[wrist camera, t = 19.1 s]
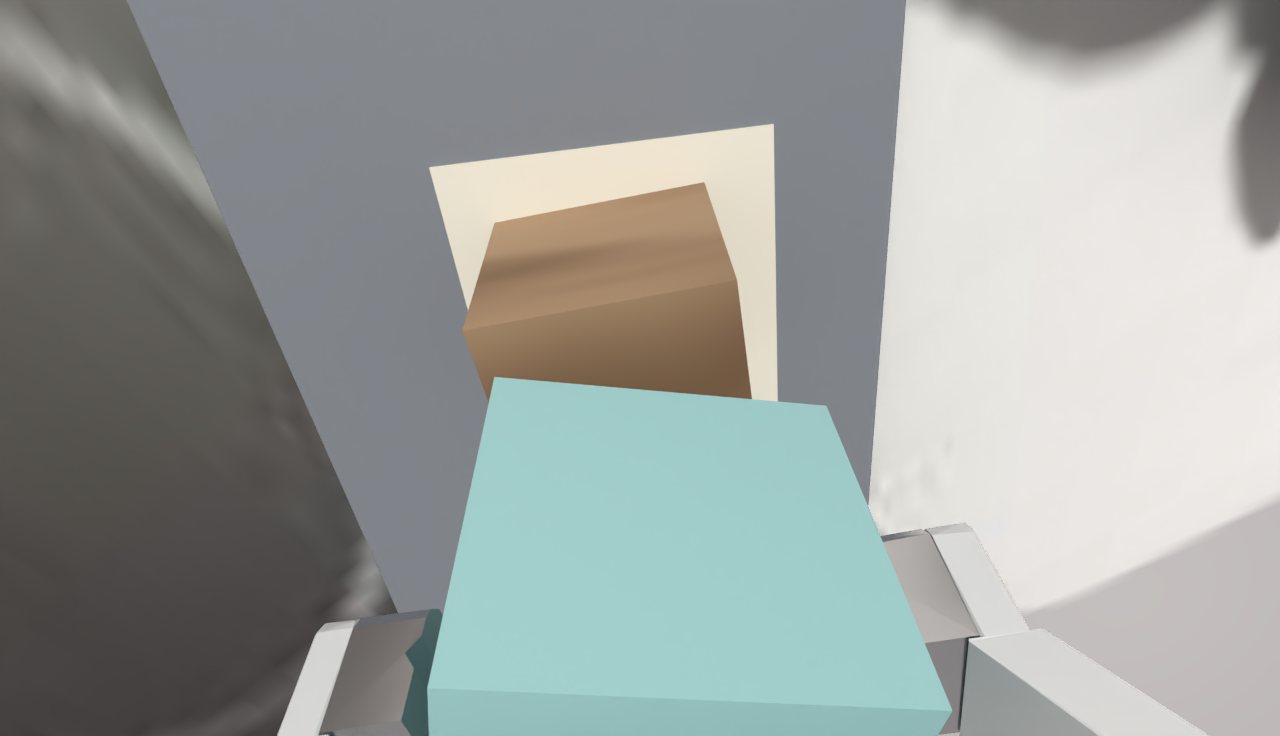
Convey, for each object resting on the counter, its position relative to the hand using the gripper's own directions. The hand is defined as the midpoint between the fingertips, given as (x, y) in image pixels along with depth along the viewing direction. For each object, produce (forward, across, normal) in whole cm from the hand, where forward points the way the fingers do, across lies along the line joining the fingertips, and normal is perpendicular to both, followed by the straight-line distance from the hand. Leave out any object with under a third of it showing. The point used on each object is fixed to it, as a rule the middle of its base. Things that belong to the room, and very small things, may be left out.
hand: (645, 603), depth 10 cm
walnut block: (+8, 0, 0) cm, 9 cm away
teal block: (+2, 0, 0) cm, 2 cm away
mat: (+9, +1, +2) cm, 9 cm away
